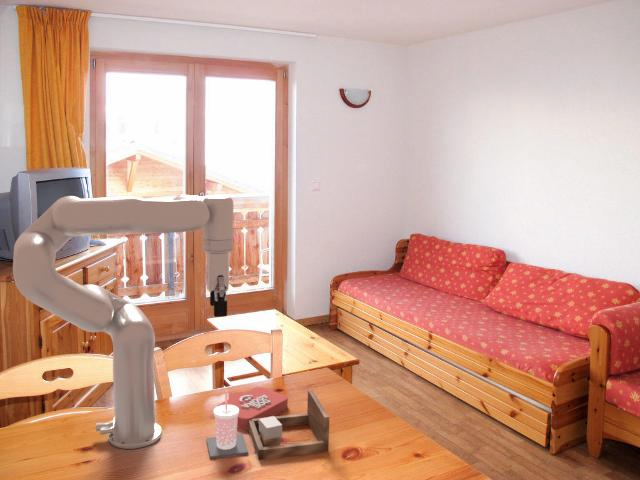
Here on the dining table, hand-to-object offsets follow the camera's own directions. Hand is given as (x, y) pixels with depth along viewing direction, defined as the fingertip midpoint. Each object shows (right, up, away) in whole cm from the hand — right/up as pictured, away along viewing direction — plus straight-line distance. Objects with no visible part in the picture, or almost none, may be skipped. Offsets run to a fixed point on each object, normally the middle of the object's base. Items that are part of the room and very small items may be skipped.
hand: (218, 310), depth 156 cm
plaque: (+6, -30, +12) cm, 33 cm away
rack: (+18, -32, -3) cm, 37 cm away
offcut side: (+13, -31, 0) cm, 34 cm away
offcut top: (+14, -29, -6) cm, 33 cm away
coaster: (+3, -32, -8) cm, 33 cm away
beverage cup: (+3, -32, -8) cm, 33 cm away
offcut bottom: (+14, -32, -5) cm, 36 cm away
